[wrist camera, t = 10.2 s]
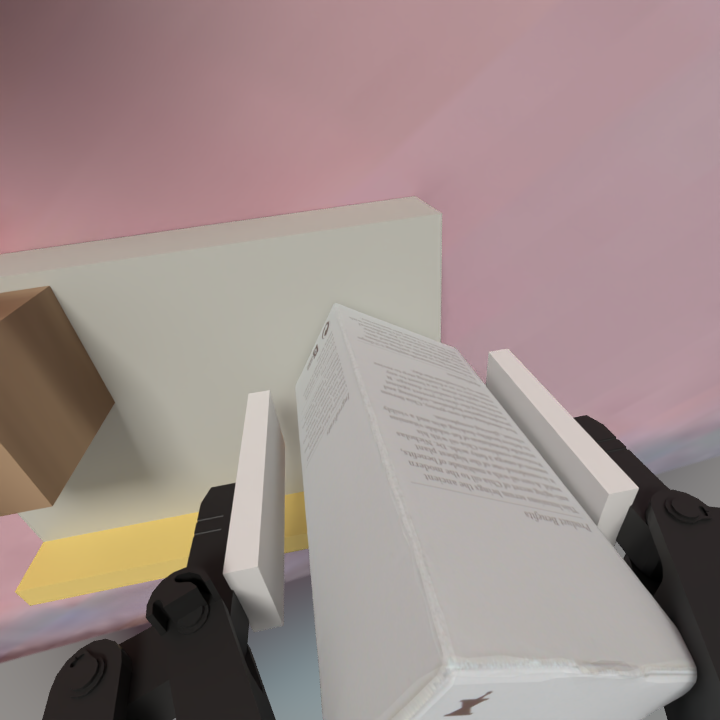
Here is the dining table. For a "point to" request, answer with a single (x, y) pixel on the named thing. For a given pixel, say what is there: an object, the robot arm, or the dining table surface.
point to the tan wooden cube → (43, 400)
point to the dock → (205, 367)
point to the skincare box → (458, 551)
